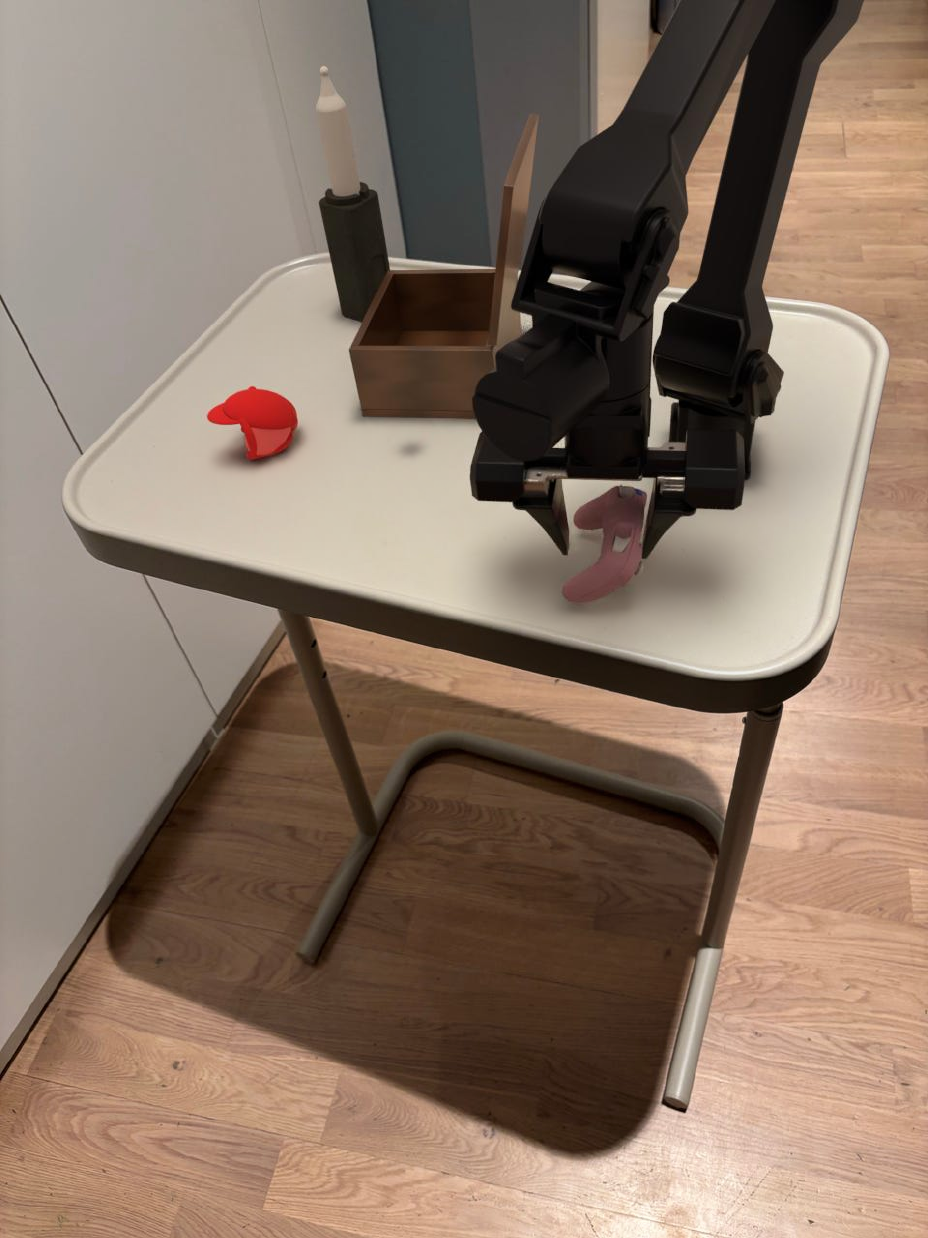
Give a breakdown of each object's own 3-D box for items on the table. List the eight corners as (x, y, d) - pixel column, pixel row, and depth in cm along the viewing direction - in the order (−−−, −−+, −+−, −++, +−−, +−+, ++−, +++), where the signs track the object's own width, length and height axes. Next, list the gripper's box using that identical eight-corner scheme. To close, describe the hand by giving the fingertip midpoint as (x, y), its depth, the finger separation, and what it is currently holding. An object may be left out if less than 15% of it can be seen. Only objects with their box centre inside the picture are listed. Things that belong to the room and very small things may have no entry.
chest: (362, 416, 92) (348, 349, 87) (398, 333, 103) (387, 269, 97) (498, 418, 90) (492, 350, 84) (521, 333, 100) (517, 267, 95)
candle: (366, 295, 110) (321, 55, 92) (400, 304, 107) (360, 59, 89) (337, 315, 107) (285, 72, 89) (371, 324, 105) (325, 77, 87)
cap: (282, 416, 94) (267, 362, 89) (313, 440, 90) (299, 386, 86) (211, 450, 91) (192, 397, 87) (241, 477, 87) (222, 423, 83)
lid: (503, 184, 73) (513, 186, 73) (530, 112, 84) (539, 113, 84) (487, 345, 84) (496, 346, 84) (513, 263, 94) (520, 264, 94)
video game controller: (610, 624, 71) (656, 566, 66) (555, 602, 70) (597, 542, 65) (619, 537, 78) (662, 478, 72) (569, 516, 77) (608, 455, 72)
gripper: (752, 313, 65) (729, 491, 76) (486, 314, 68) (502, 483, 80) (756, 406, 57) (730, 587, 69) (457, 402, 61) (480, 574, 72)
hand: (605, 553), depth 72 cm, fingers closed on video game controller, 6 cm apart
